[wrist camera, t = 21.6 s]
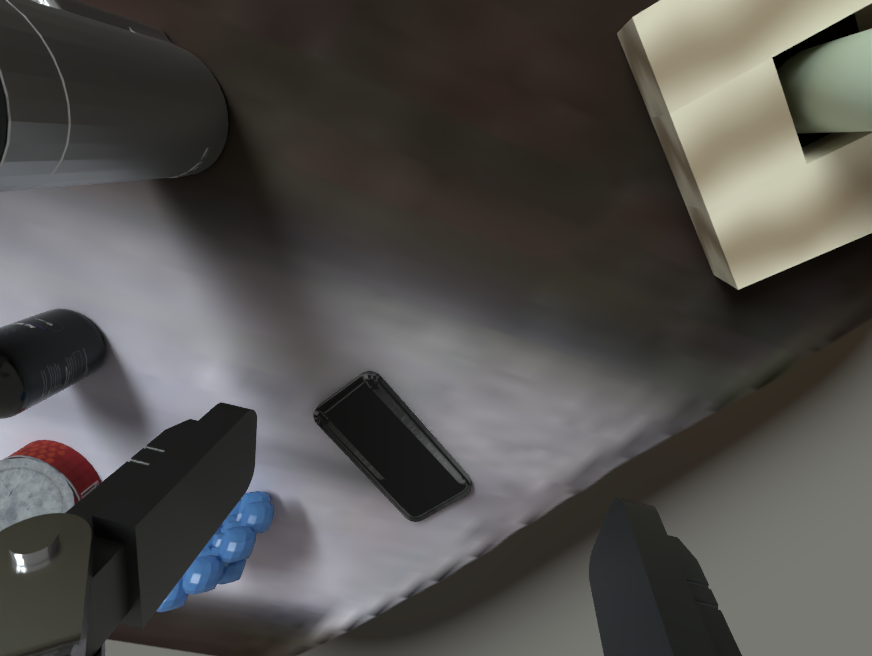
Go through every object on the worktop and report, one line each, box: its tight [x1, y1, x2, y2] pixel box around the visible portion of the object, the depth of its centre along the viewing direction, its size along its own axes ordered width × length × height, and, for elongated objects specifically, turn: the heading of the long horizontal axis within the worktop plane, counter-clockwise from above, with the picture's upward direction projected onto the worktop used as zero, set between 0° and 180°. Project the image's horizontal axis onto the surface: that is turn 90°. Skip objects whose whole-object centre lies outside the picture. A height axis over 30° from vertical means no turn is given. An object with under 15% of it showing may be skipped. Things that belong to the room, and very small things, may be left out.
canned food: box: [0, 440, 101, 531], centre depth 49 cm, size 11×10×10 cm
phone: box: [314, 371, 472, 522], centre depth 44 cm, size 8×1×15 cm
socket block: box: [617, 0, 872, 290], centre depth 28 cm, size 18×18×4 cm
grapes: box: [157, 491, 274, 612], centre depth 44 cm, size 12×7×12 cm, turn 119°
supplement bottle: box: [0, 309, 106, 419], centre depth 39 cm, size 7×7×12 cm
